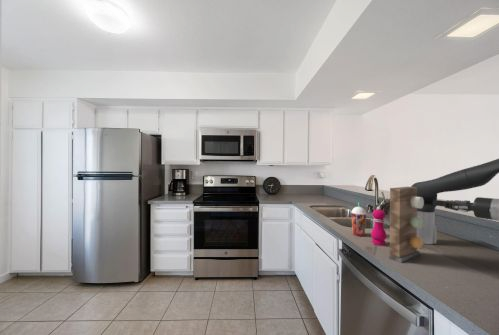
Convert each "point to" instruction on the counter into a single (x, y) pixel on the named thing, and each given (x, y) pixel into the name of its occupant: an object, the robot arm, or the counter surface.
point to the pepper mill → (378, 228)
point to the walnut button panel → (402, 223)
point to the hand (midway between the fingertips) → (433, 202)
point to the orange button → (416, 242)
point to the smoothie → (358, 220)
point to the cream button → (417, 202)
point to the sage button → (417, 222)
